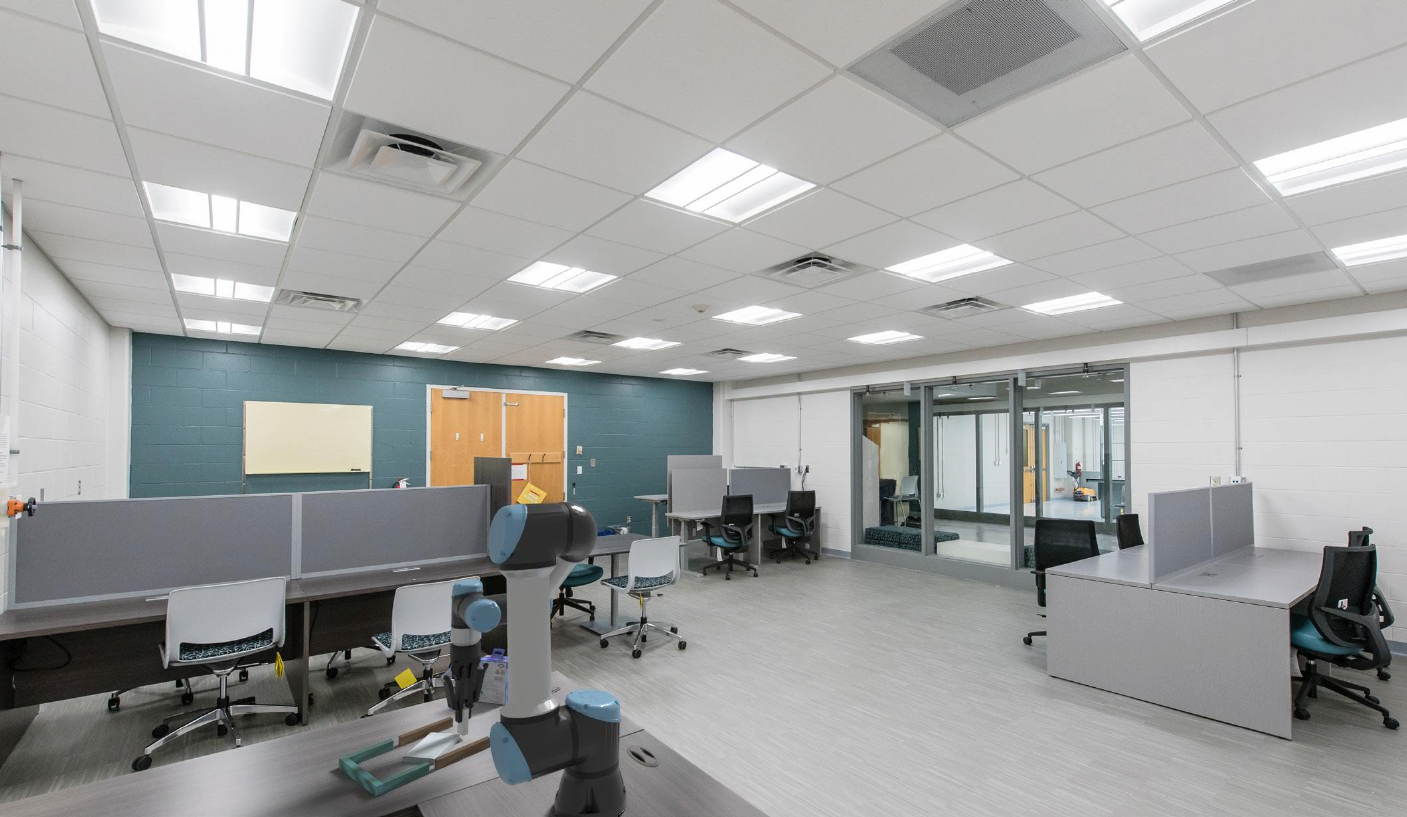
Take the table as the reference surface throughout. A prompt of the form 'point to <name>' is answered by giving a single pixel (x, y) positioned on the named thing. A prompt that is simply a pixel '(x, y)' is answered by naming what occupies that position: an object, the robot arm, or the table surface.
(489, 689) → the ink cartridge box
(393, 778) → the chute
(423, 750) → the hard drive
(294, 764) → the table surface
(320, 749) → the table surface
